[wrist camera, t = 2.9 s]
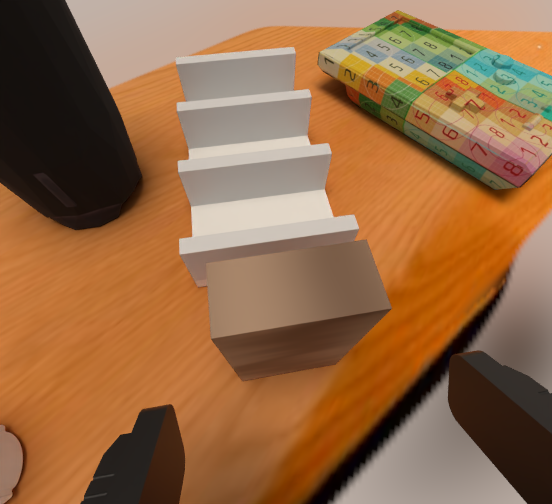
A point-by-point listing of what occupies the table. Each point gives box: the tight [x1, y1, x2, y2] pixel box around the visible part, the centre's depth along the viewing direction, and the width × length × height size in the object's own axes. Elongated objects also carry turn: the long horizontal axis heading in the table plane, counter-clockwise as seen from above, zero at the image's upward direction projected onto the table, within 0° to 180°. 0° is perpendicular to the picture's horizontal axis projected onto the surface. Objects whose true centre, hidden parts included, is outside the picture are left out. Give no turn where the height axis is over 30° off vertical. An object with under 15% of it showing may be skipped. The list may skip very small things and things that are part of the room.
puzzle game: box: [318, 10, 552, 190], centre depth 28 cm, size 12×5×20 cm
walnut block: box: [206, 240, 392, 381], centre depth 14 cm, size 6×2×10 cm, turn 100°
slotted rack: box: [176, 47, 359, 287], centre depth 23 cm, size 10×19×4 cm, turn 10°
